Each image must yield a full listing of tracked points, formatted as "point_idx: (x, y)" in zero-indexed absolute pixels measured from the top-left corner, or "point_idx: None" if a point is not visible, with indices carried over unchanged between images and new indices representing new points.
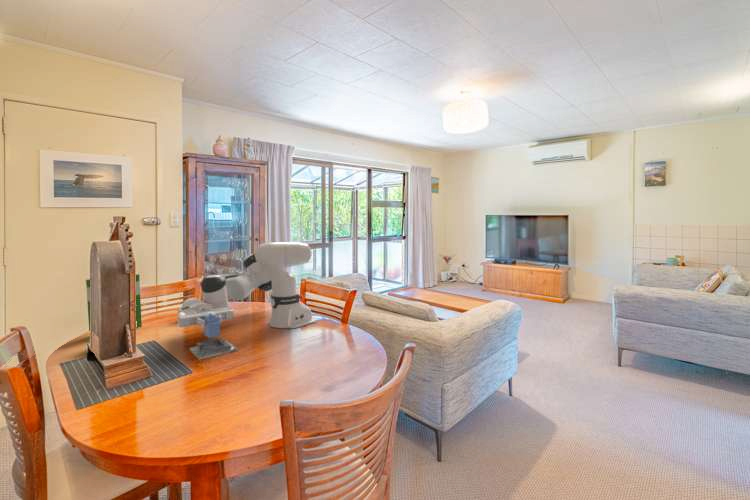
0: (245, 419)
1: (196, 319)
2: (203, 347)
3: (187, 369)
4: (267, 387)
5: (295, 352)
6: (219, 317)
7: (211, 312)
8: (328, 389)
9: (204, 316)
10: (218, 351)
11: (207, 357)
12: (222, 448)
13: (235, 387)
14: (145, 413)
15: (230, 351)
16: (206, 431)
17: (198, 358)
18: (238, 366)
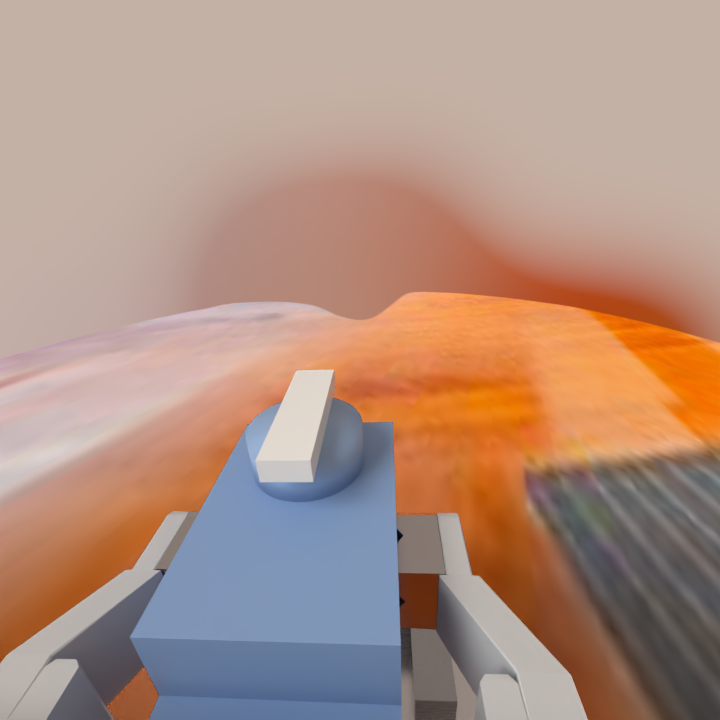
0: (429, 311)
1: (578, 716)
2: (443, 697)
3: (552, 515)
4: (348, 343)
5: (103, 434)
6: (182, 527)
7: (302, 424)
8: (272, 315)
9: (398, 591)
10: None
11: None
12: (472, 295)
13: (407, 362)
14: (619, 359)
15: None
16: (489, 310)
17: None
18: None
